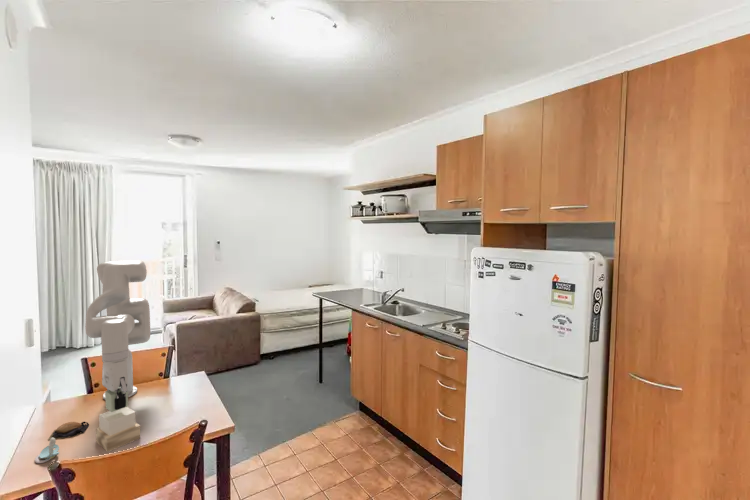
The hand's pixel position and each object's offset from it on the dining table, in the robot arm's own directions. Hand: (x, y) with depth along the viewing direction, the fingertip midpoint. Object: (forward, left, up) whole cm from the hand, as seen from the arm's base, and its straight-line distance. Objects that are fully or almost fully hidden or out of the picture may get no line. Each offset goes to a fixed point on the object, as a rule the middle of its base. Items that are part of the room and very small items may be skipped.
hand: (116, 405), depth 128 cm
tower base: (0, 0, -13) cm, 13 cm away
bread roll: (-20, -8, -14) cm, 25 cm away
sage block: (0, 0, -1) cm, 1 cm away
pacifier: (-8, -17, -13) cm, 23 cm away
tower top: (0, 0, -8) cm, 8 cm away
